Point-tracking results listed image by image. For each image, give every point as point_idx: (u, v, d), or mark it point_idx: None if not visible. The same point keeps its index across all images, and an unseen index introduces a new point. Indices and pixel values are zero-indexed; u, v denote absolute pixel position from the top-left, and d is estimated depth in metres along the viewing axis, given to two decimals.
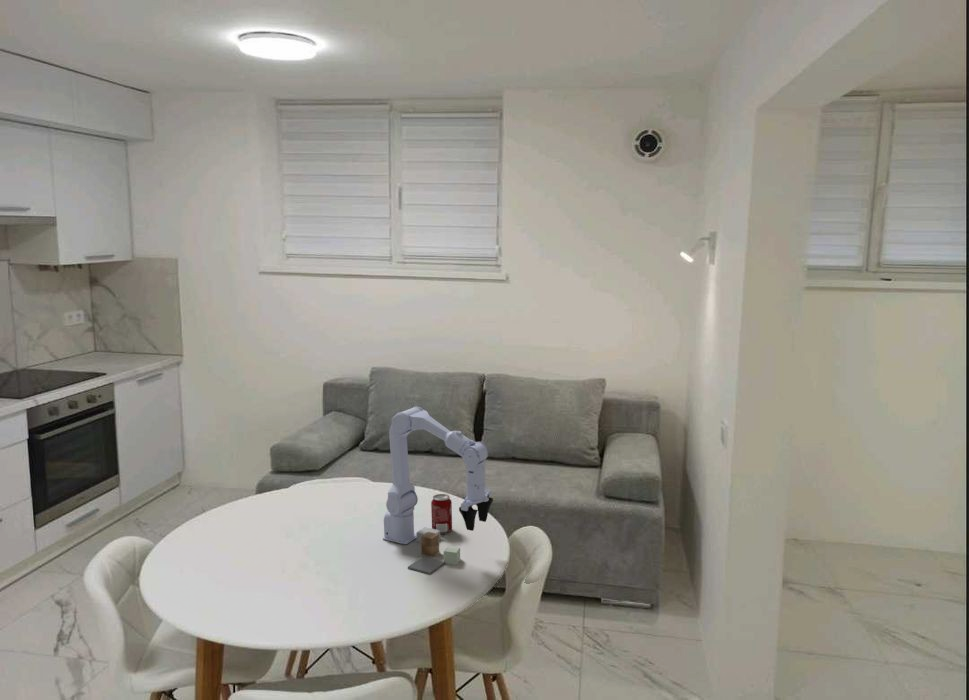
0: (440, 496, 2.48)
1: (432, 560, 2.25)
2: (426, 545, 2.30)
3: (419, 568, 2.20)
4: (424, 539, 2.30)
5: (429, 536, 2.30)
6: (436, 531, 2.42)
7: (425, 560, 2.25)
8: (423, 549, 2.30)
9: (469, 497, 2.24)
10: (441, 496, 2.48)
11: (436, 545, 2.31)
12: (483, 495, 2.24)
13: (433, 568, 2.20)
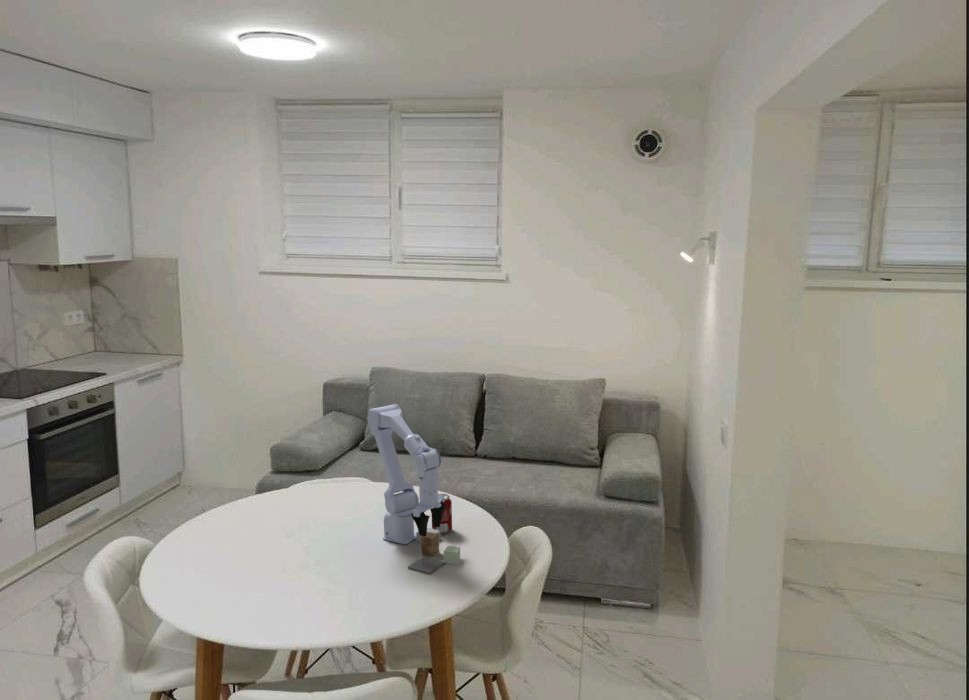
0: None
1: (432, 560, 2.25)
2: (426, 545, 2.30)
3: (419, 568, 2.20)
4: (424, 539, 2.30)
5: (429, 536, 2.30)
6: (436, 531, 2.41)
7: (425, 560, 2.25)
8: (423, 549, 2.30)
9: (422, 503, 2.27)
10: None
11: (436, 545, 2.31)
12: (435, 501, 2.27)
13: (433, 568, 2.20)
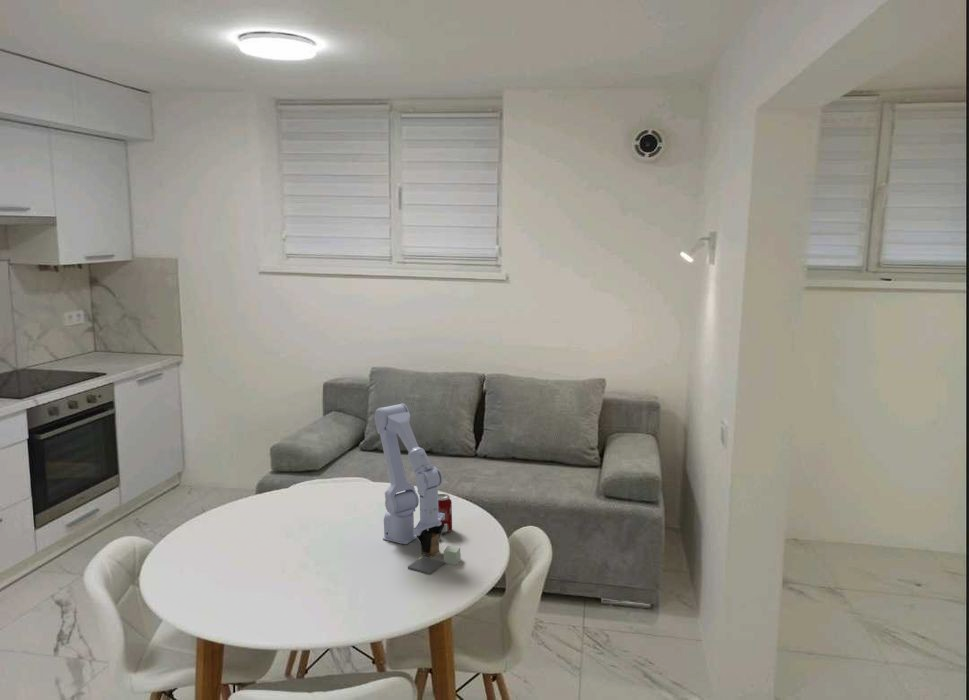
0: (440, 496, 2.48)
1: (432, 560, 2.25)
2: None
3: (419, 568, 2.20)
4: None
5: None
6: None
7: (425, 560, 2.25)
8: None
9: (422, 521, 2.28)
10: (441, 496, 2.48)
11: (436, 545, 2.31)
12: (436, 519, 2.28)
13: (433, 568, 2.20)
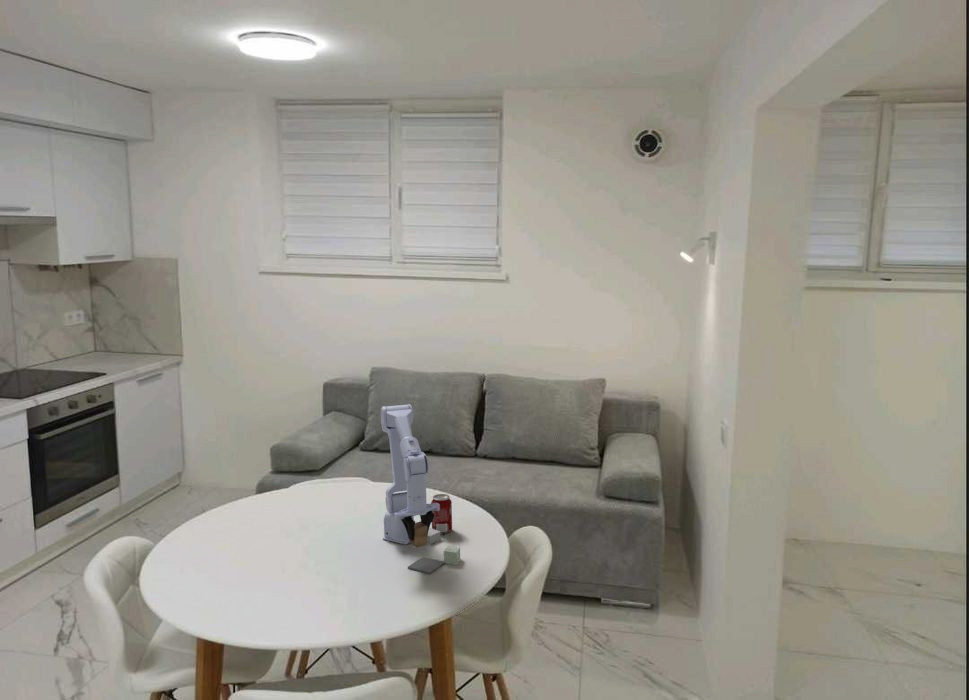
0: (440, 496, 2.48)
1: (432, 560, 2.25)
2: None
3: (419, 568, 2.20)
4: None
5: (416, 526, 2.21)
6: (436, 532, 2.41)
7: (425, 560, 2.25)
8: None
9: (407, 508, 2.20)
10: (441, 496, 2.48)
11: (423, 537, 2.21)
12: (420, 508, 2.19)
13: (433, 568, 2.20)
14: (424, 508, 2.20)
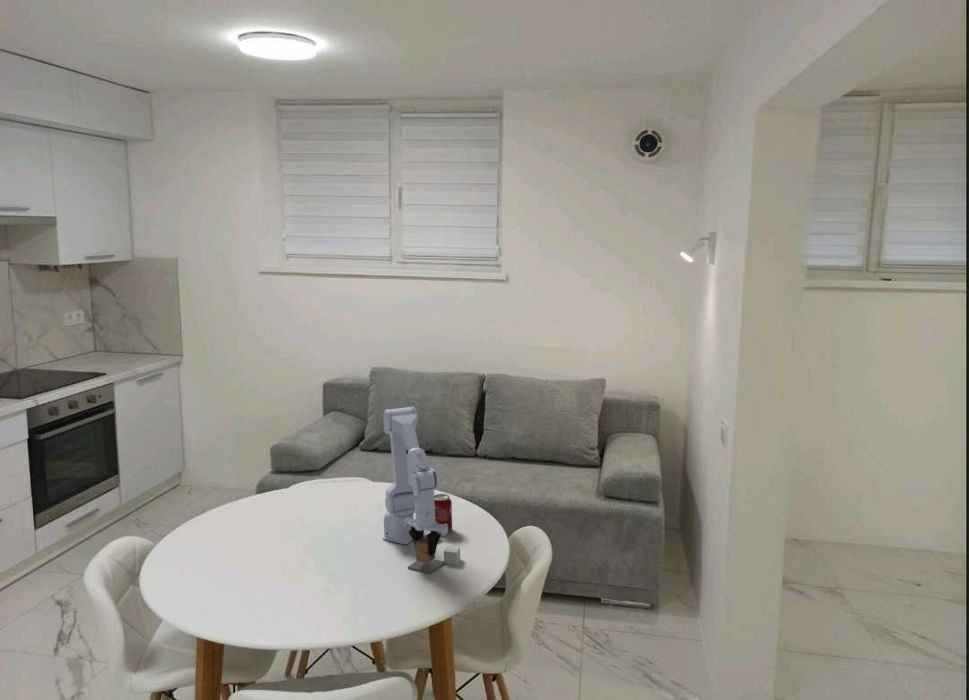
0: (440, 496, 2.48)
1: (432, 560, 2.25)
2: None
3: (419, 568, 2.20)
4: None
5: (421, 540, 2.21)
6: None
7: None
8: None
9: None
10: (441, 496, 2.48)
11: (423, 554, 2.20)
12: (418, 523, 2.18)
13: (433, 568, 2.20)
14: (423, 525, 2.18)
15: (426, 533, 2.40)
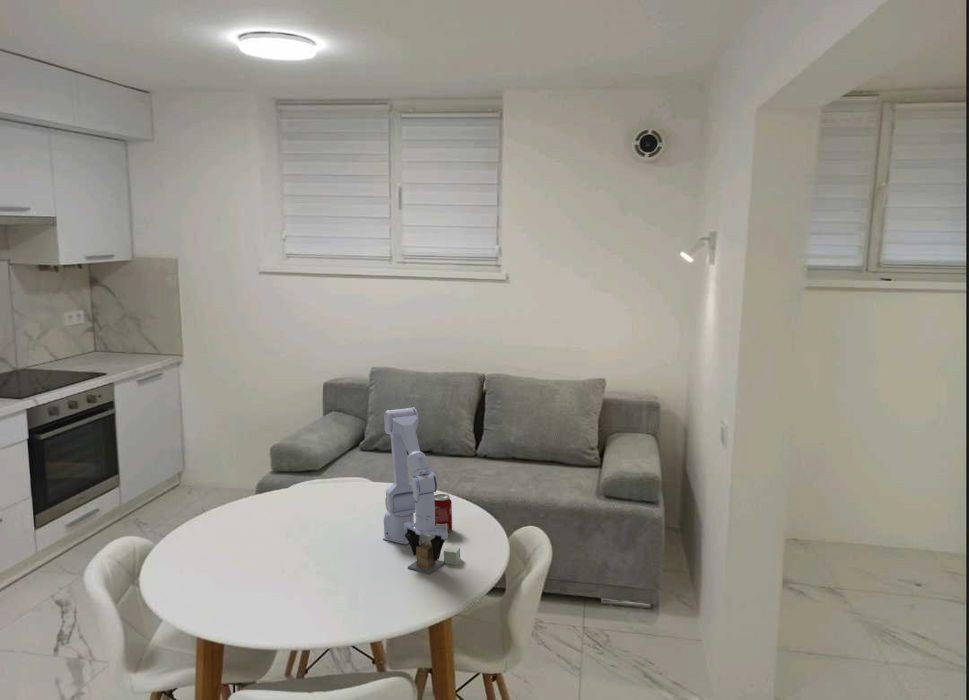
0: (440, 496, 2.48)
1: None
2: None
3: (419, 568, 2.20)
4: None
5: (422, 545, 2.22)
6: None
7: None
8: None
9: None
10: (441, 496, 2.48)
11: (423, 559, 2.20)
12: (419, 527, 2.19)
13: (433, 568, 2.20)
14: (423, 529, 2.18)
15: None
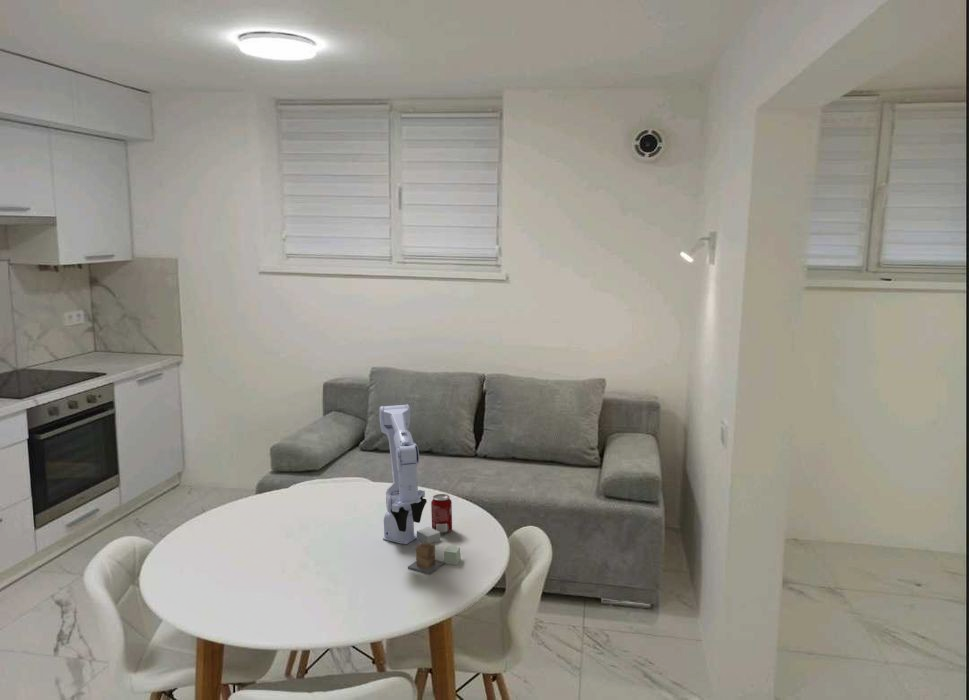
0: (440, 496, 2.48)
1: None
2: None
3: (419, 568, 2.20)
4: None
5: (422, 545, 2.22)
6: (435, 532, 2.41)
7: None
8: None
9: (401, 498, 2.24)
10: (441, 496, 2.48)
11: (423, 559, 2.20)
12: (415, 496, 2.25)
13: (433, 568, 2.20)
14: (417, 496, 2.26)
15: (426, 533, 2.40)
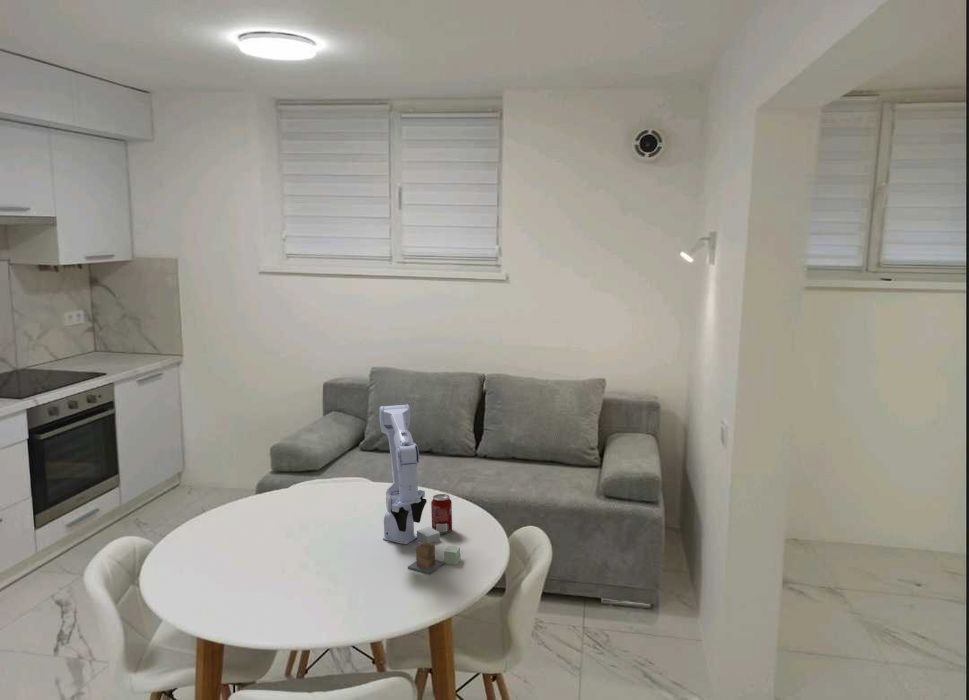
0: (440, 496, 2.48)
1: None
2: None
3: (419, 568, 2.20)
4: None
5: (422, 545, 2.22)
6: (435, 532, 2.40)
7: None
8: None
9: (401, 498, 2.24)
10: (441, 496, 2.48)
11: (423, 559, 2.20)
12: (415, 496, 2.25)
13: (433, 568, 2.20)
14: (417, 496, 2.26)
15: (425, 533, 2.40)
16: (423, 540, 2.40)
